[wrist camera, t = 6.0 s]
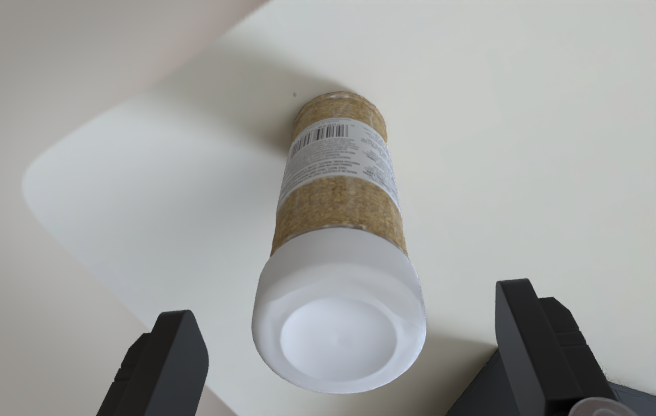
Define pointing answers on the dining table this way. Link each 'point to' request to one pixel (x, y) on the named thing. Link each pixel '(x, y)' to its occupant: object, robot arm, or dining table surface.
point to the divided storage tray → (499, 402)
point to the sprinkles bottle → (339, 258)
